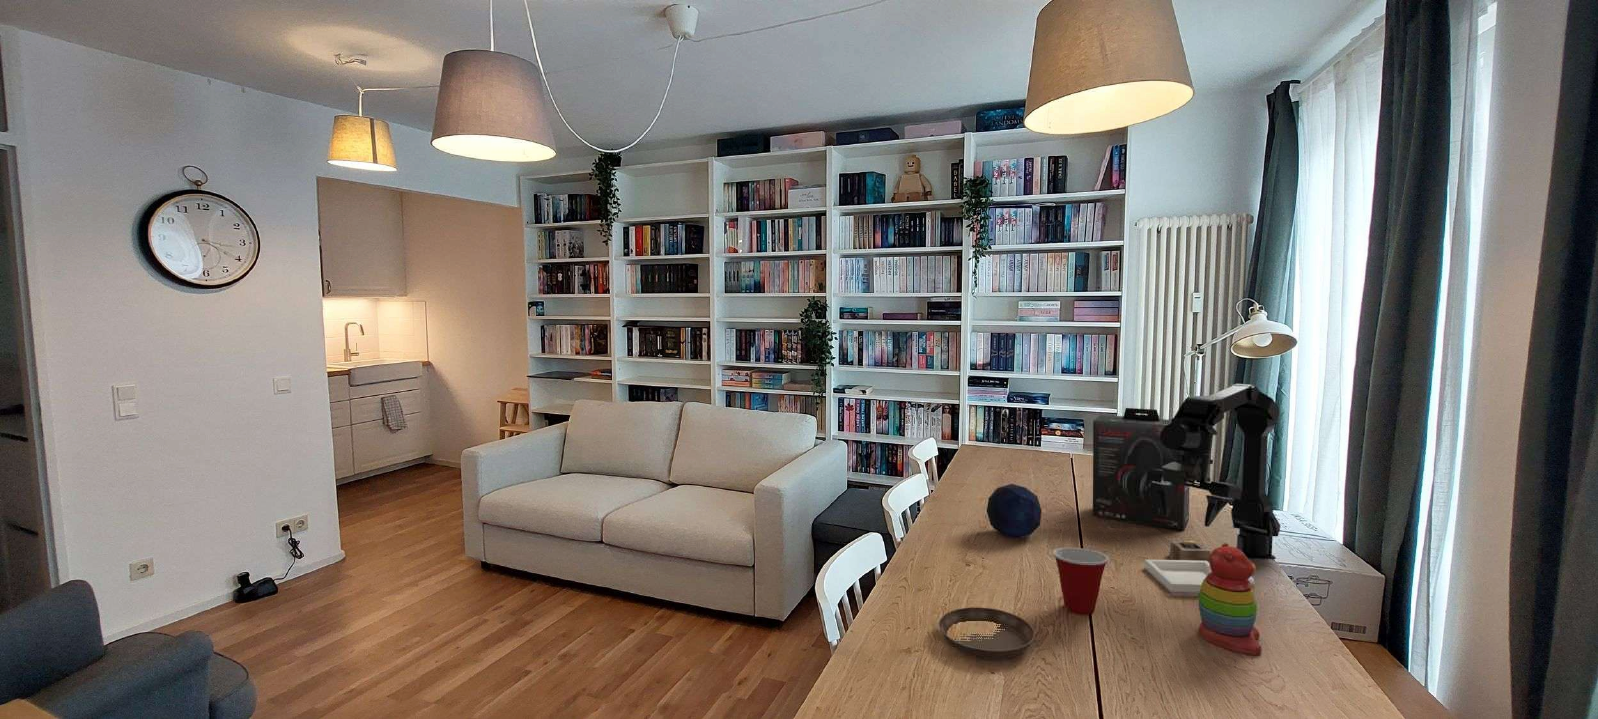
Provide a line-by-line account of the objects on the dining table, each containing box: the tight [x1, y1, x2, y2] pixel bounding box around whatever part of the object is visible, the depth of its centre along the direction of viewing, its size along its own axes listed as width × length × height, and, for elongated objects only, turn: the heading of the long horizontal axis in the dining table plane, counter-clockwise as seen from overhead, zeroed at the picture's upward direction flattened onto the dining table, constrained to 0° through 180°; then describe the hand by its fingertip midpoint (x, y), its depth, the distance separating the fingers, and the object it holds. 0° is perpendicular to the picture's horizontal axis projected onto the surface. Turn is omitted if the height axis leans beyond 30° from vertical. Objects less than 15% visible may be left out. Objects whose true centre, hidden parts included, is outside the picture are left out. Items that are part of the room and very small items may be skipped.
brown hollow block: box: [1168, 540, 1211, 562], centre depth 164 cm, size 8×6×4 cm
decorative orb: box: [986, 483, 1043, 539], centre depth 183 cm, size 14×15×15 cm
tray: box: [1144, 559, 1212, 596], centre depth 151 cm, size 14×14×2 cm
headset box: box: [1092, 407, 1190, 531], centre depth 195 cm, size 25×12×33 cm, turn 54°
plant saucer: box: [938, 606, 1036, 661], centre depth 127 cm, size 18×18×3 cm
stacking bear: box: [1197, 542, 1262, 656], centre depth 125 cm, size 11×10×18 cm
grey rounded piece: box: [1182, 540, 1197, 549], centre depth 163 cm, size 8×8×5 cm
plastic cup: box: [1052, 547, 1110, 616], centre depth 139 cm, size 11×11×12 cm
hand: (1186, 520), depth 149 cm, fingers open, 9 cm apart
